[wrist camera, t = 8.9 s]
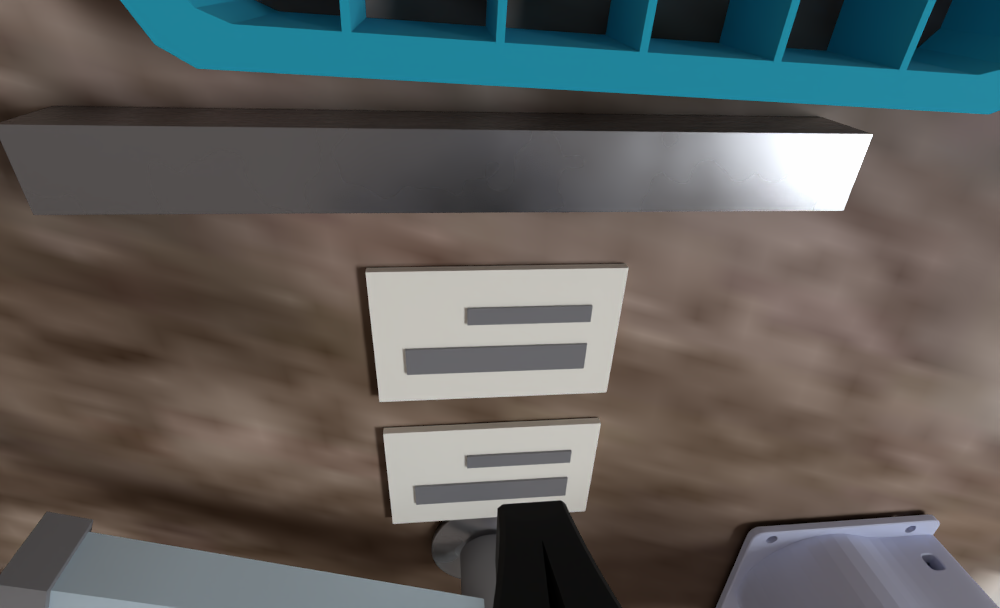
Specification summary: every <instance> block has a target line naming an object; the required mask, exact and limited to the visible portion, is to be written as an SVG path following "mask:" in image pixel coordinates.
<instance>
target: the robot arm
mask: <svg viewBox="0 0 1000 608" xmlns="http://www.w3.org/2000/svg"><path fill="white" fill-rule="evenodd" d="M939 524H940V523H939V521H938V520H937V519H936V518H935V517H934V516H933V515H928V514H927V515H913V516H899V517H885V518H871V519H857V520H844V521H830V522H816V523H802V524H788V525H774V526H760V527H755V528H753V529H752V530H750V531H749V532H748V534H747V536H746V539H745V541H744V543H743V546H742V548H741V550H740V553H739V555H738V557H737V560H736V562H735V564H734V566H733V569H732V571H731V573H730V576H729V578H728V580H727V583H726V585H725V587H724V590H723V592H722V594H721V596H720V599H719V601H718V603H717V606H716V608H999V607H998V606H997V605H996V604H995V603H994V602H993V601H992V599H991V598H990V597H989V596H988V595H987V594H986V593H985V592H984V591H983V590H982V588H981V587H980V586H979V585H978V584H977V583H976V582H975V581H974V580H973V578H972V577H971V576H970V575H969V574H968V573H967V572H966V571H965V570H964V569H963V567H962V566H961V565H960V564H959V563H958V562H957V561H956V560H955V559H954V558H953V556H952V555H951V554H950V553H949V552H948V551H947V550H946V549H945V548H944V546H943V545H942V544H941V543H940V542H939V541H938V540H937V539H936V538H935V537H934V535H933V534H934V533H935V531H936V530H937V528H938V527H939ZM495 567H496V587H495V595H494V602H493V608H622V607H621V605H620V603H619V602H618V600H617V598H616V597H615V595H614V594H613V592H612V590H611V589H610V587H609V585H608V584H607V582H606V580H605V579H604V577H603V575H602V574H601V572H600V570H599V568H598V567H597V565H596V563H595V561H594V559H593V558H592V556H591V554H590V552H589V550H588V549H587V547H586V545H585V543H584V541H583V539H582V537H581V535H580V533H579V531H578V529H577V527H576V525H575V523H574V521H573V519H572V517H571V515H570V513H569V510H568V508H567V506H566V504H565V503H564V502H563V501H561V500H557V501H542V502H527V503H512V504H503V505H501V506H500V507H498V508H497V531H496V554H495Z"/></svg>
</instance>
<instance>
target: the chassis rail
mask: <svg viewBox="0 0 1000 608" xmlns="http://www.w3.org/2000/svg"><path fill="white" fill-rule="evenodd" d="M872 135H873V134H871V133H868V132H865V131H862V130H859V129H856V128H853V127H850V126H847V125H844V124H841V123H838V122H835V121H832V120H829V119H826V118H823V117H763V116H695V115H628V114H560V113H492V112H425V111H357V110H290V109H222V108H154V107H87V106H51V107H48V108H45V109H41V110H38V111H35V112H32V113H29V114H25V115H22V116H19V117H16V118H12V119H9V120H6V121H3V122H0V140H1V143H2V145H3V147H4V149H5V152H6V154H7V156H8V158H9V161H10V163H11V165H12V167H13V170H14V172H15V174H16V176H17V179H18V181H19V183H20V185H21V188H22V190H23V192H24V194H25V197H26V199H27V201H28V203H29V206H30V208H31V210H32V212H33V215H80V214H271V213H462V212H653V211H843V210H844V207H845V205H846V202H847V200H848V197H849V195H850V192H851V189H852V187H853V184H854V182H855V179H856V177H857V174H858V171H859V169H860V166H861V164H862V161H863V158H864V156H865V153H866V151H867V148H868V146H869V143H870V140H871V138H872Z"/></svg>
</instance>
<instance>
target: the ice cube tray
mask: <svg viewBox="0 0 1000 608" xmlns="http://www.w3.org/2000/svg"><path fill="white" fill-rule="evenodd" d="M120 1H121V2H122V3H123V5H124V6H125V7H126V8H127V10H128V11H129V12H130V14H131V15H132V16H133V17H134V19H135V20H136V21H137V22H138V24H139V25H140V26H141V28H142V29H143V30H144V31H145V33H146V34H147V35H148V37H149V38H150V39H151V40H152V42H153V43H154V44H155V45H157V46H158V47H160V48H162V49H164V50H165V51H167V52H169V53H171V54H172V55H174V56H176V57H178V58H179V59H181V60H183V61H185V62H186V63H188V64H190V65H192V66H193V67H195V68H197V69H213V70H231V71H248V72H265V73H282V74H300V75H317V76H334V77H352V78H369V79H386V80H404V81H421V82H438V83H455V84H473V85H490V86H507V87H525V88H542V89H559V90H576V91H594V92H611V93H628V94H646V95H663V96H680V97H698V98H715V99H732V100H749V101H767V102H784V103H801V104H819V105H836V106H853V107H871V108H888V109H905V110H922V111H940V112H957V113H974V114H991V113H994V112H997V111H1000V0H952V3H951V5H950V7H949V9H948V12H947V14H946V16H945V18H944V21H943V23H942V25H941V28H940V29H939V30H938V31H937V32H935V33H934V34H933V35H932V36H931V37H930V38H929V39H927V40H926V41H925V42H924V43H923V44H922V45H921V46H919V47H918V48H916V47H917V44H918V42H919V39H920V37H921V35H922V32H923V30H924V28H925V25H926V23H927V21H928V18H929V16H930V14H931V11H932V9H933V7H934V4H935V2H936V0H844V2H843V5H842V8H841V11H840V14H839V17H838V19H837V22H836V25H835V28H834V31H833V34H832V37H831V40H830V42H829V45H828V48H827V51H824V50H810V49H796V48H786V45H787V42H788V38H789V35H790V32H791V29H792V26H793V22H794V19H795V16H796V13H797V10H798V6H799V3H800V0H730V2H729V6H728V10H727V14H726V18H725V22H724V26H723V30H722V34H721V38H720V42H719V43H713V42H699V41H685V40H671V39H657V38H651V32H652V27H653V22H654V17H655V12H656V6H657V1H658V0H611V4H610V10H609V17H608V23H607V30H606V35H602V34H588V33H574V32H560V31H546V30H532V29H518V28H506V14H507V0H487V10H486V26H476V25H462V24H449V23H435V22H421V21H407V20H393V19H379V18H366V5H365V0H339V2H340V15H341V16H337V15H323V14H309V13H296V12H282V11H277V10H275V9H273V8H270V7H268V6H266V5H264V4H262V3H259V2H257V1H255V0H120Z"/></svg>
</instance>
